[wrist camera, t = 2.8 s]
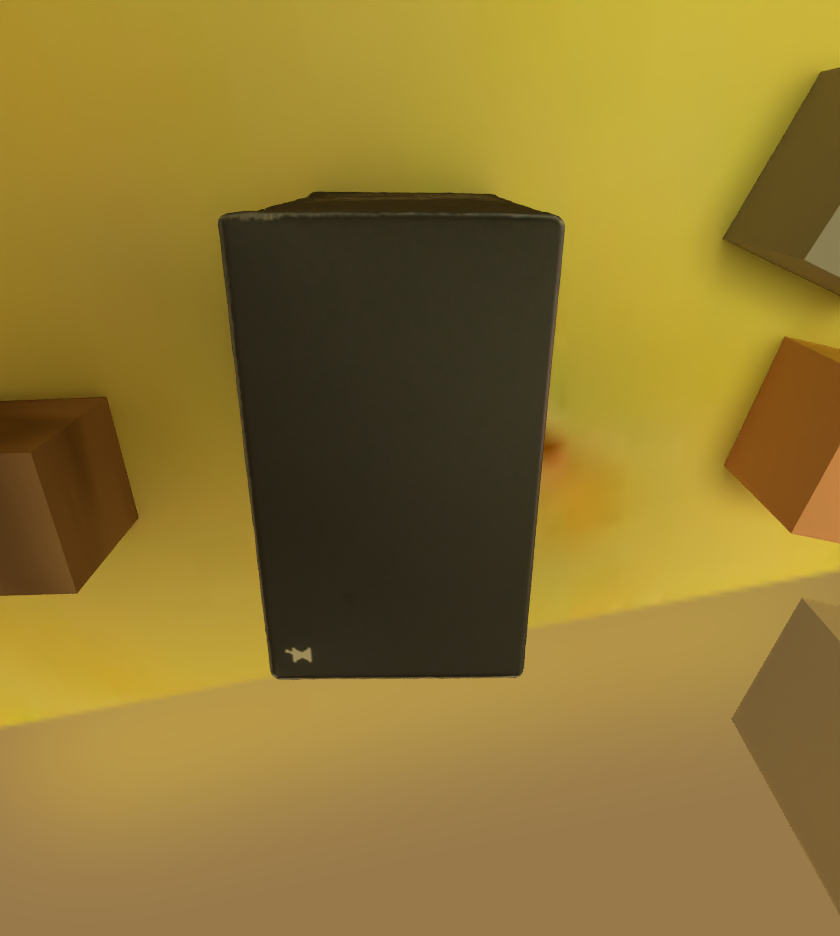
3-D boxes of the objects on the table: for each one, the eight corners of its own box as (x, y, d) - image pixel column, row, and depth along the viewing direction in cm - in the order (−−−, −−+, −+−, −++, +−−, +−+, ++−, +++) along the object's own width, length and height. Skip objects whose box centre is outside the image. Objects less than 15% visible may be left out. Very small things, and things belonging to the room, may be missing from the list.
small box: (492, 489, 25) (535, 692, 15) (323, 488, 25) (259, 690, 15) (510, 189, 20) (585, 213, 11) (302, 189, 20) (194, 211, 11)
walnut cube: (14, 520, 26) (-74, 597, 21) (-29, 401, 23) (-138, 458, 19) (138, 516, 25) (77, 593, 21) (107, 396, 23) (30, 452, 19)
